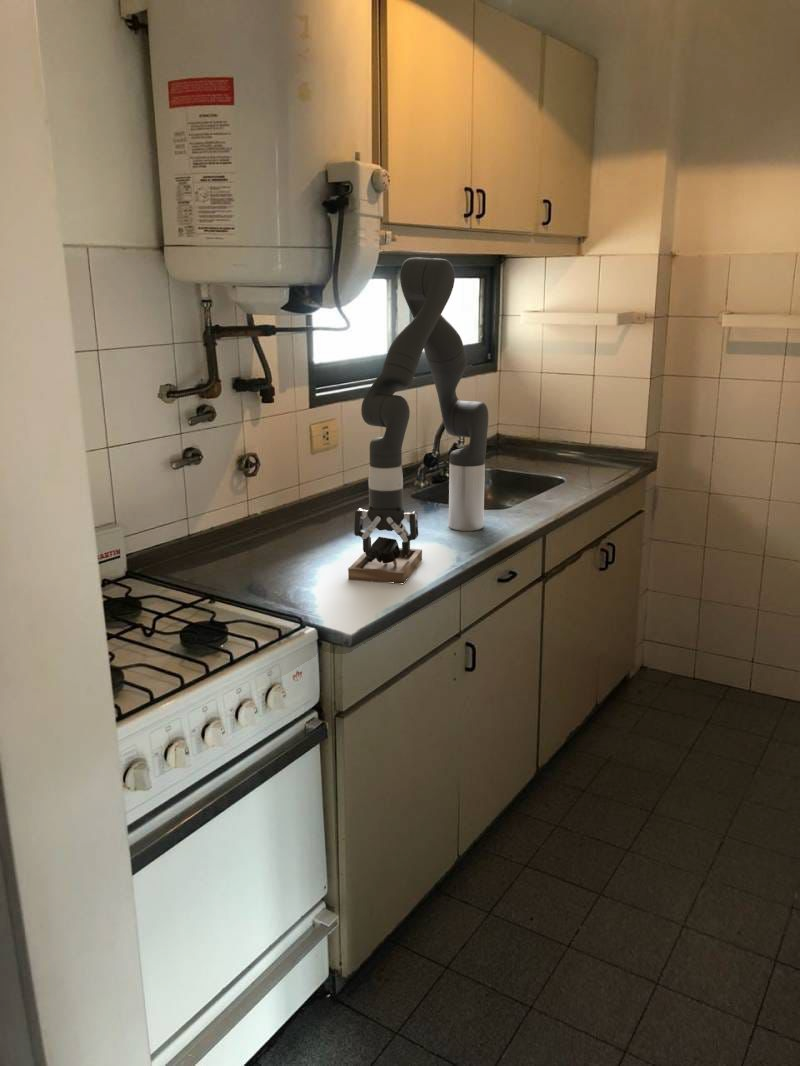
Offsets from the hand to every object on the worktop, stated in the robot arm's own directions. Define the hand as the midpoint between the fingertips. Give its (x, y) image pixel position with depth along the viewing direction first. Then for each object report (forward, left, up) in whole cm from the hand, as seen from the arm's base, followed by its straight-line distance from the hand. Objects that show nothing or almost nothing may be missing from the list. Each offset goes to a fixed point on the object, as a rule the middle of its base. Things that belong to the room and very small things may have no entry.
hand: (386, 555), depth 191 cm
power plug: (+4, -1, -2) cm, 4 cm away
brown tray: (0, 0, -3) cm, 3 cm away
